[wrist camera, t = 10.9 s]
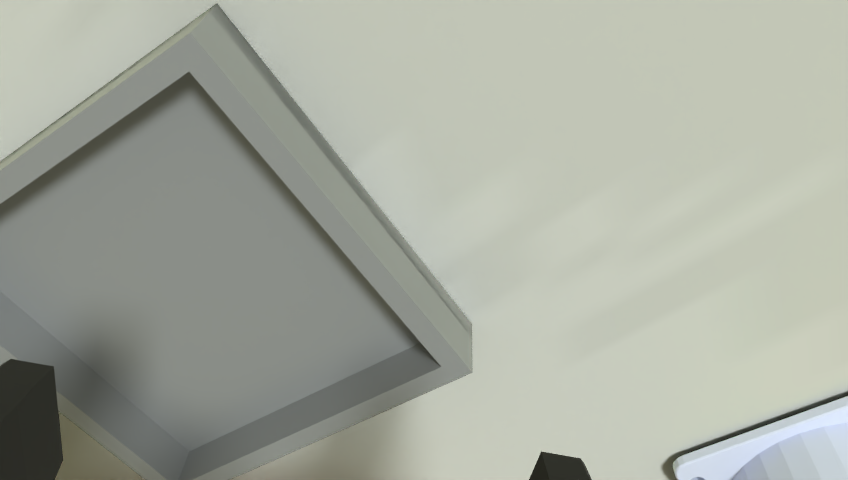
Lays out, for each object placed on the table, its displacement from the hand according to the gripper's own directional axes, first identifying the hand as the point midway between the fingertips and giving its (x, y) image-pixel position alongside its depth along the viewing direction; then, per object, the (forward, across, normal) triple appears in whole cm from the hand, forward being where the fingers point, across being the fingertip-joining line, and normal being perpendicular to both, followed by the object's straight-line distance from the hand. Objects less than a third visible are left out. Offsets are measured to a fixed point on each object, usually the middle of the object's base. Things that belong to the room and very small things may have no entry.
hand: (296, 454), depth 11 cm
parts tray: (+9, +4, +5) cm, 11 cm away
